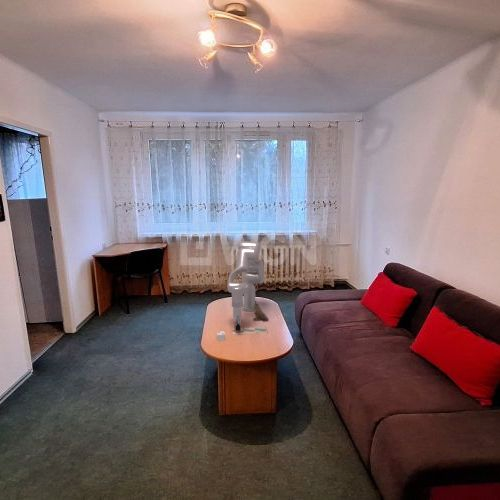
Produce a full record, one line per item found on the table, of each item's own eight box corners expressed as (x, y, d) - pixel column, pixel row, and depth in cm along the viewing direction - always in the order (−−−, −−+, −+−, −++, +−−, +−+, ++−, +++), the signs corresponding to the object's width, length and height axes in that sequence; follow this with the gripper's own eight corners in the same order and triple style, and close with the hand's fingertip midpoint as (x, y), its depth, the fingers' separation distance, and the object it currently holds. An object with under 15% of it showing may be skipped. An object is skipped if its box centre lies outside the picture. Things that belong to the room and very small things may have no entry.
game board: (230, 329, 227) (230, 328, 227) (265, 326, 231) (265, 325, 231) (231, 336, 217) (231, 335, 216) (268, 333, 220) (268, 332, 220)
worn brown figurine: (253, 325, 239) (248, 303, 235) (253, 322, 244) (248, 300, 240) (269, 321, 240) (264, 299, 235) (268, 318, 245) (263, 297, 241)
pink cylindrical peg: (234, 329, 224) (233, 314, 222) (240, 329, 225) (240, 314, 223) (234, 332, 220) (234, 316, 218) (241, 332, 221) (240, 316, 218)
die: (217, 338, 213) (216, 331, 212) (224, 338, 214) (224, 331, 213) (217, 342, 209) (217, 335, 208) (225, 341, 209) (224, 334, 208)
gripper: (230, 299, 226) (231, 324, 230) (232, 308, 210) (233, 334, 213) (241, 299, 227) (241, 323, 231) (244, 308, 211) (244, 334, 214)
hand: (237, 328), depth 222 cm, fingers closed on pink cylindrical peg, 4 cm apart
